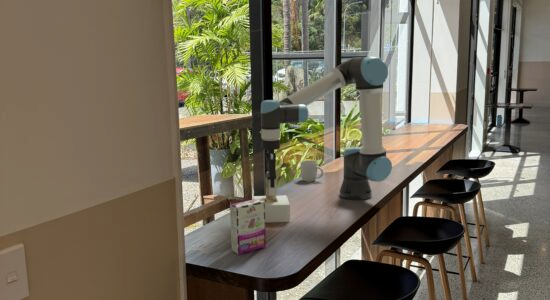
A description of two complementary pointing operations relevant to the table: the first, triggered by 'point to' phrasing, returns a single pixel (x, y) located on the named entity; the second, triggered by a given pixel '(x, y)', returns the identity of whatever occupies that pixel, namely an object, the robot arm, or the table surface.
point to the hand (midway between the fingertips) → (271, 190)
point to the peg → (268, 198)
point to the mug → (310, 171)
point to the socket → (276, 209)
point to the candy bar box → (247, 226)
